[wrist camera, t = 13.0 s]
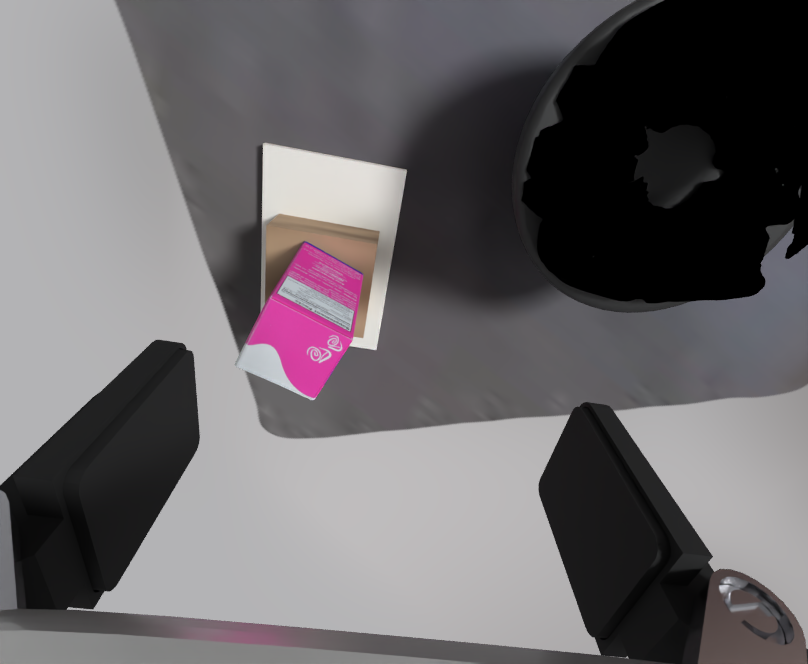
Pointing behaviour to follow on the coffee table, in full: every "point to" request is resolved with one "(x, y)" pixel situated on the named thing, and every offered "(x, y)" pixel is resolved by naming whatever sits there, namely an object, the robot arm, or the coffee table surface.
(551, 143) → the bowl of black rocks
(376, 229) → the board
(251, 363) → the supplement box
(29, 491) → the robot arm
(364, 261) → the walnut block
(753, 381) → the coffee table surface
